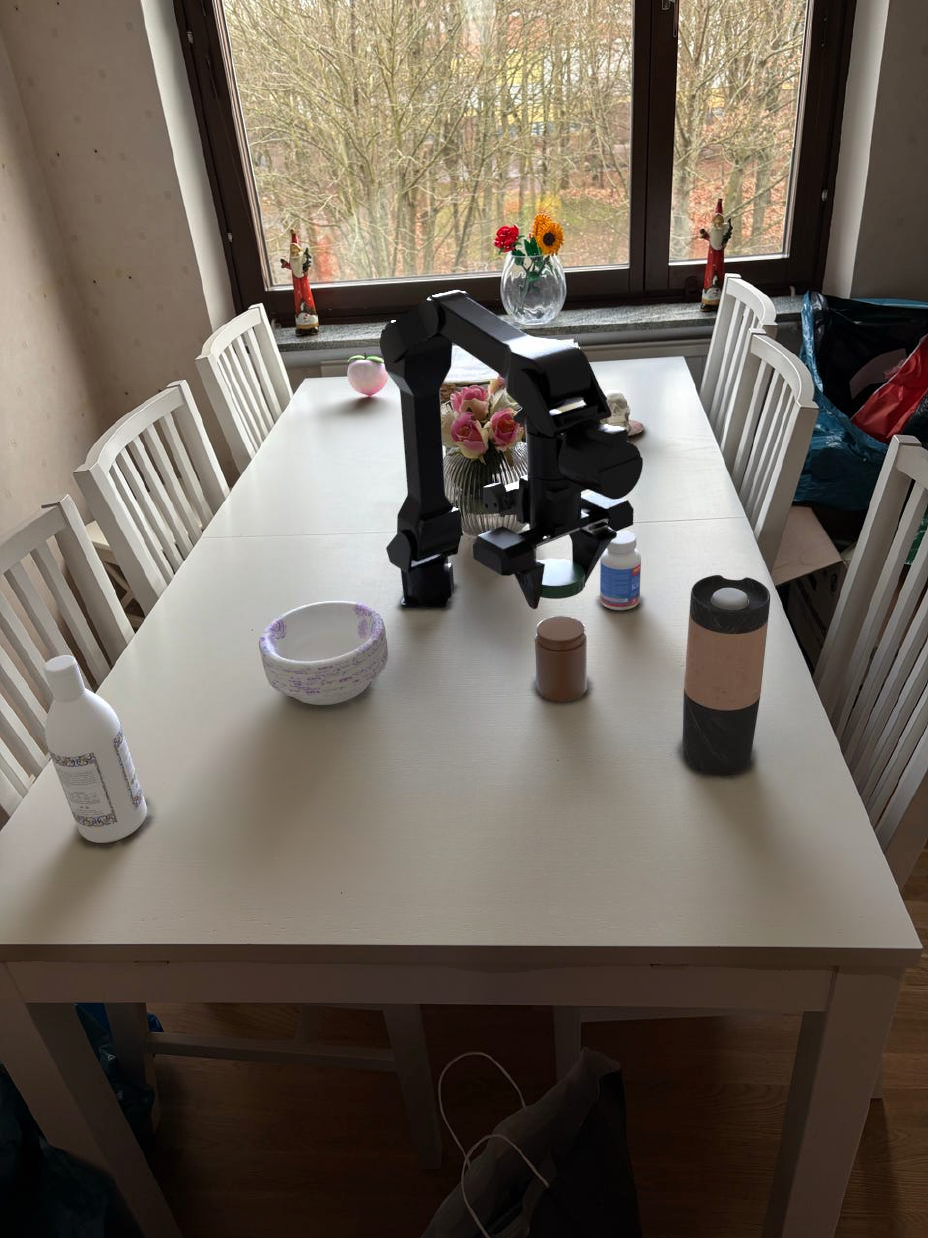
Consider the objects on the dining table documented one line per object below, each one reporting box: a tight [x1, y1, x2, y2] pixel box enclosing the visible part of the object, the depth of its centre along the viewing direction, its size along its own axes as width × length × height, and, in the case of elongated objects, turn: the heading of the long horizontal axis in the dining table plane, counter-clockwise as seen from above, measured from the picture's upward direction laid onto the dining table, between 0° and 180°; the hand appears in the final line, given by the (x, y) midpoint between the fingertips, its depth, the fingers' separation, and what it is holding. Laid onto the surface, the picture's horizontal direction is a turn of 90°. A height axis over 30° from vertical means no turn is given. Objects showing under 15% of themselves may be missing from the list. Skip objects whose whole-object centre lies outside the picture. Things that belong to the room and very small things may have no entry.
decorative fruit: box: [346, 351, 389, 397], centre depth 213 cm, size 9×8×10 cm
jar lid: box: [539, 558, 586, 600], centre depth 108 cm, size 7×7×2 cm
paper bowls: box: [258, 600, 389, 706], centre depth 117 cm, size 15×15×8 cm
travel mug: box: [682, 574, 771, 776], centre depth 97 cm, size 8×8×20 cm
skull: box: [600, 389, 645, 437], centre depth 186 cm, size 12×10×10 cm
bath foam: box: [43, 654, 148, 844], centre depth 95 cm, size 7×7×20 cm
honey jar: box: [534, 615, 588, 703], centre depth 113 cm, size 6×6×8 cm
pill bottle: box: [599, 530, 642, 611], centre depth 129 cm, size 6×5×10 cm
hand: (556, 597), depth 109 cm, fingers closed on jar lid, 6 cm apart
